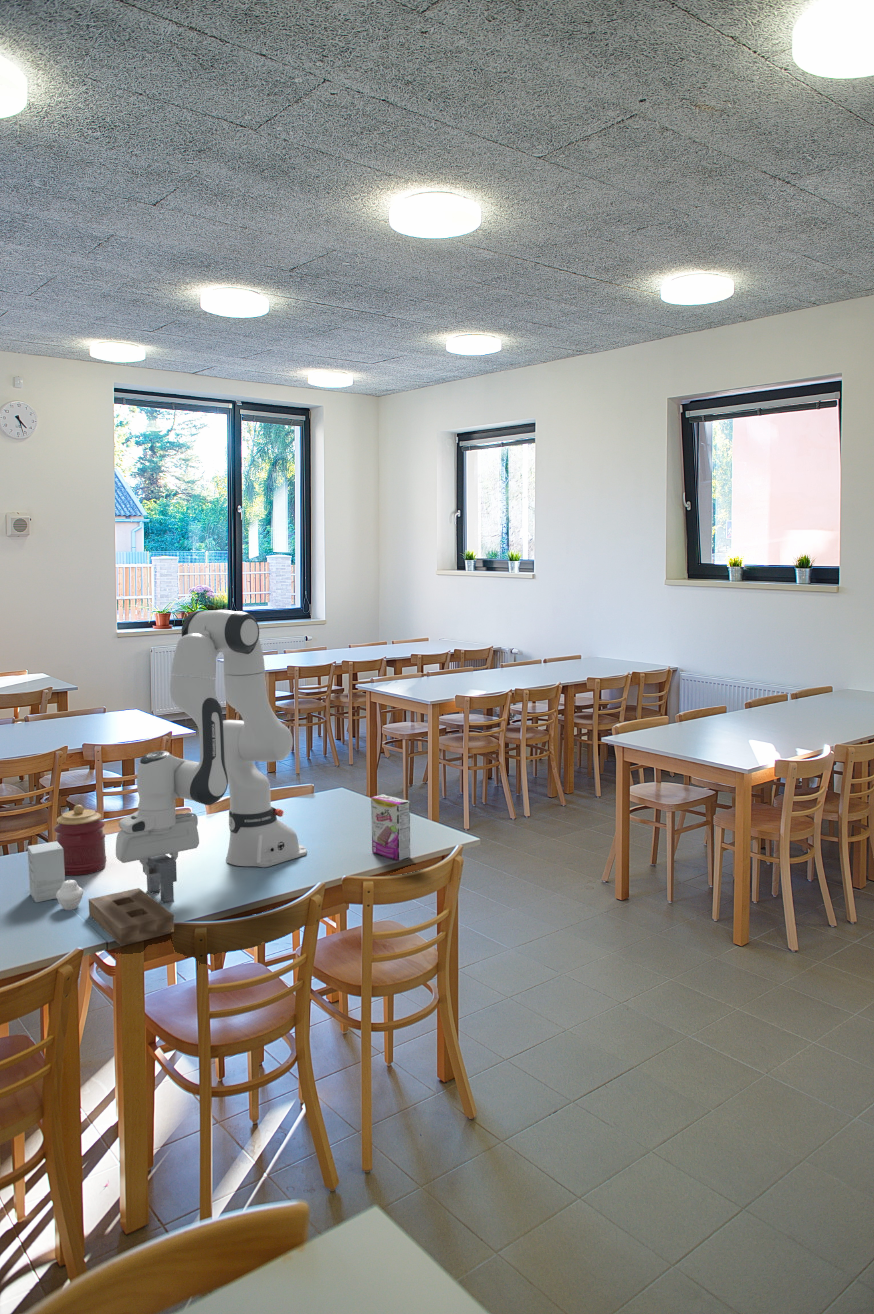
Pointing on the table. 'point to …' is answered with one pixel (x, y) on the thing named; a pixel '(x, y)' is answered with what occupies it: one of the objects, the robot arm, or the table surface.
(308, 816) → the table surface
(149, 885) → the grey u-shaped block
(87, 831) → the canister
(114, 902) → the wooden socket board
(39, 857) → the supplement box
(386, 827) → the candy bar box
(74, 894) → the muffin
